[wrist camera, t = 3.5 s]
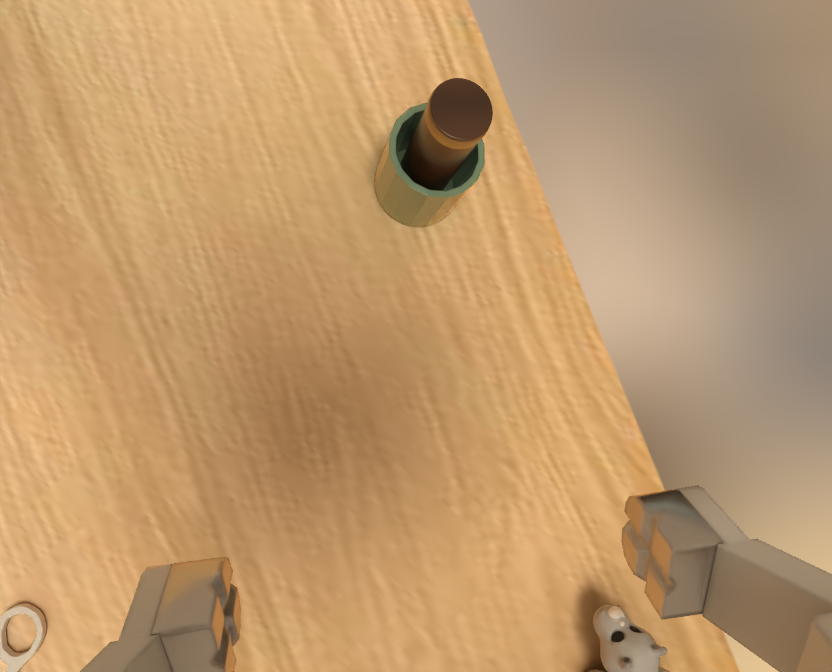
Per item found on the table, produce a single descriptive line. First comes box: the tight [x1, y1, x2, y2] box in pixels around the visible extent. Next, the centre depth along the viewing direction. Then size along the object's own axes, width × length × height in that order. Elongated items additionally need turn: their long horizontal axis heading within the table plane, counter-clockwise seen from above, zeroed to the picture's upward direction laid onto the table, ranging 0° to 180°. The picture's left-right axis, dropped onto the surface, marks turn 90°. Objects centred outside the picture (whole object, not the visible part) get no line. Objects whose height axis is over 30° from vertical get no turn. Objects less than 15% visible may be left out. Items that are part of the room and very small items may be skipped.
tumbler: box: [375, 102, 485, 227], centre depth 46 cm, size 7×7×8 cm
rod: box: [400, 78, 493, 191], centre depth 43 cm, size 4×4×13 cm
